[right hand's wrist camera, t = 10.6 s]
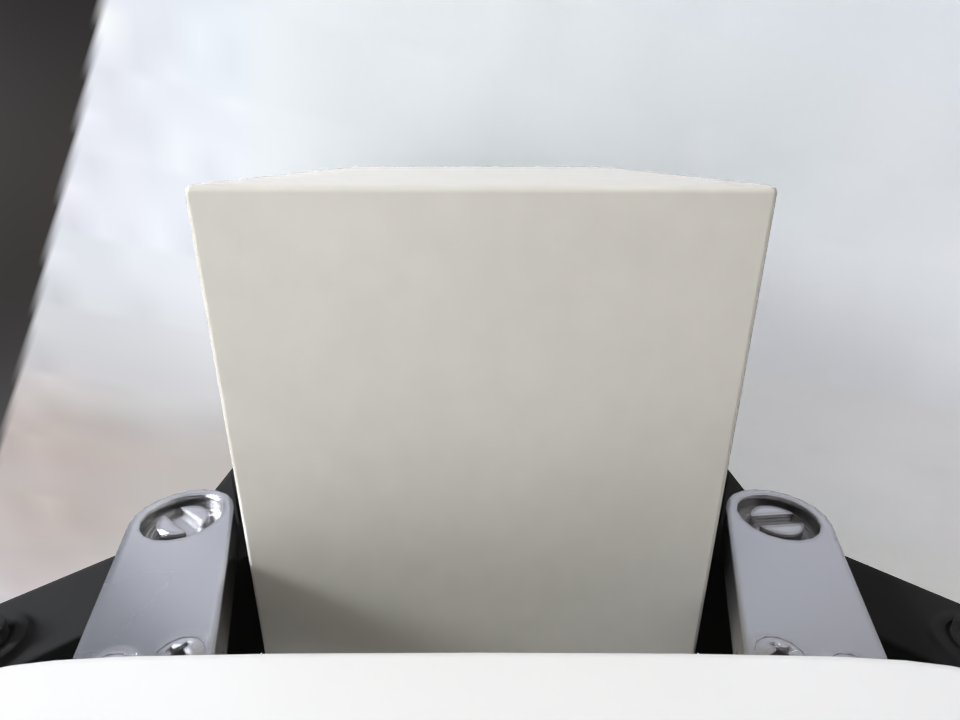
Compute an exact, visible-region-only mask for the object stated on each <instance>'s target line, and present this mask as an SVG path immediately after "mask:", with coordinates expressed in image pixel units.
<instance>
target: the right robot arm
mask: <svg viewBox="0 0 960 720" xmlns="http://www.w3.org/2000/svg"><path fill="white" fill-rule="evenodd" d="M697 652H698V653H699V654H697ZM260 653H262V654H260ZM0 720H960V604H959V603H956V602H954V601H951V600H949V599H947V598H944V597H942V596H940V595H937V594H935V593H932V592H930V591H928V590H925V589H923V588H920V587H918V586H916V585H913V584H911V583H908V582H906V581H904V580H901V579H899V578H896V577H894V576H892V575H889V574H887V573H884V572H882V571H880V570H877V569H875V568H872V567H870V566H868V565H865V564H863V563H860V562H858V561H856V560H853V559H851V558H848V557H846V556H844V553H843V551H842V548H841V546H840V544H839V541H838V539H837V536H836V534H835V532H834V529H833V527H832V525H831V523H830V522H829V521H828V519H827V518H826V516H825V515H823V514H822V513H821V512H820V511H819V510H817V509H816V508H815V507H813V506H811V505H809V504H808V503H806V502H804V501H802V500H800V499H797V498H795V497H792V496H789V495H787V494H783V493H778V492H774V491H768V490H757V489H755V490H744V489H743V488H742V487H741V485H740V484H739V483H738V482H737V480H736V479H735V478H734V477H733V475H732V474H731V473H730V472H729V470H727V476H726V481H725V487H724V492H723V498H722V504H721V509H720V515H719V520H718V526H717V532H716V537H715V543H714V548H713V554H712V560H711V565H710V571H709V576H708V582H707V588H706V593H705V599H704V604H703V610H702V616H701V621H700V627H699V632H698V638H697V644H696V649H695V654H654V653H306V654H265V649H264V643H263V637H262V632H261V626H260V620H259V615H258V609H257V603H256V597H255V592H254V586H253V580H252V574H251V569H250V563H249V557H248V551H247V546H246V540H245V534H244V529H243V523H242V517H241V511H240V506H239V500H238V494H237V488H236V483H235V477H234V471H233V468H232V469H231V471H230V472H229V473H228V474H227V476H226V477H225V478H224V480H223V481H222V482H221V483H220V485H219V486H218V487H217V488H216V490H205V489H203V490H192V491H186V492H182V493H177V494H173V495H171V496H168V497H165V498H163V499H160V500H158V501H156V502H154V503H152V504H151V505H149V506H147V507H145V508H144V509H143V510H141V511H140V512H139V513H138V514H137V515H135V516H134V518H133V519H132V521H131V522H130V523H129V525H128V527H127V529H126V532H125V534H124V536H123V539H122V541H121V544H120V546H119V548H118V551H117V553H116V556H113V557H111V558H109V559H106V560H104V561H101V562H99V563H97V564H94V565H92V566H89V567H87V568H85V569H82V570H80V571H77V572H75V573H73V574H70V575H68V576H66V577H63V578H61V579H58V580H56V581H54V582H51V583H49V584H46V585H44V586H42V587H39V588H37V589H34V590H32V591H30V592H27V593H25V594H22V595H20V596H18V597H15V598H13V599H10V600H8V601H6V602H3V603H1V604H0Z"/></svg>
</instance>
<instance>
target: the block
mask: <svg viewBox="0 0 960 720" xmlns="http://www.w3.org/2000/svg"><path fill="white" fill-rule="evenodd" d="M185 196H186V202H187V208H188V213H189V219H190V225H191V230H192V236H193V242H194V248H195V253H196V259H197V265H198V271H199V276H200V282H201V288H202V293H203V299H204V305H205V311H206V316H207V322H208V328H209V334H210V339H211V345H212V351H213V357H214V362H215V368H216V374H217V379H218V385H219V391H220V397H221V402H222V408H223V414H224V420H225V425H226V431H227V437H228V443H229V448H230V454H231V460H232V465H233V471H234V477H235V483H236V488H237V494H238V500H239V506H240V511H241V517H242V523H243V529H244V534H245V540H246V546H247V551H248V557H249V563H250V569H251V574H252V580H253V586H254V592H255V597H256V603H257V609H258V615H259V620H260V626H261V632H262V637H263V643H264V649H265V654H306V653H654V654H695V649H696V644H697V638H698V632H699V627H700V621H701V616H702V610H703V604H704V599H705V593H706V588H707V582H708V576H709V571H710V565H711V560H712V554H713V548H714V543H715V537H716V532H717V526H718V520H719V515H720V509H721V504H722V498H723V492H724V487H725V481H726V476H727V470H728V464H729V459H730V453H731V448H732V442H733V436H734V431H735V425H736V420H737V414H738V408H739V403H740V397H741V392H742V386H743V380H744V375H745V369H746V364H747V358H748V352H749V347H750V341H751V336H752V330H753V325H754V319H755V313H756V308H757V302H758V297H759V291H760V285H761V280H762V274H763V269H764V263H765V257H766V252H767V246H768V241H769V235H770V229H771V224H772V218H773V213H774V207H775V201H776V196H777V191H776V188H775V187H773V186H771V185H763V184H754V183H745V182H736V181H726V180H717V179H708V178H699V177H690V176H680V175H671V174H662V173H653V172H643V171H634V170H625V169H616V168H607V167H440V166H359V167H349V168H340V169H331V170H321V171H312V172H302V173H293V174H284V175H274V176H265V177H256V178H246V179H237V180H228V181H218V182H209V183H200V184H191V185H189V186H187V187H186V189H185Z"/></svg>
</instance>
